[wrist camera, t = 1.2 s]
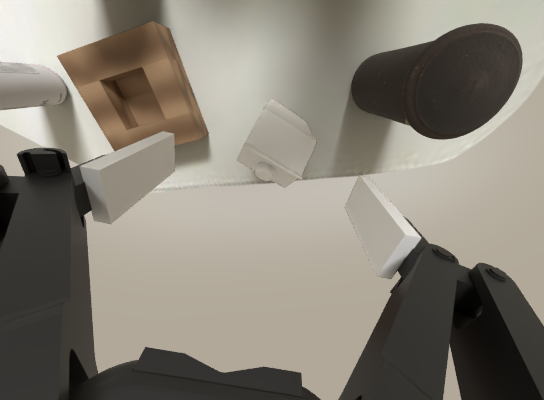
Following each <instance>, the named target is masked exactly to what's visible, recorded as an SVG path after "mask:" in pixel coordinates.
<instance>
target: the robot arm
mask: <svg viewBox="0 0 544 400" xmlns="http://www.w3.org/2000/svg"><path fill="white" fill-rule="evenodd" d="M17 156H18V159H19V161H20V163H21V166H22V168H23V171H24V173H25V177H20V176H7V174H6V172H5V170H4V168H3V166H2V165H0V400H320V399H319V398H318V397H317V396H316V395H315V394H313V393H311V392H310V391H309V390H308V389H306V388H304V387H302V379H301V373H298V372H293V371H287V370H281V369H275V368H268V367H259V368H254V369H247V370H240V371H234V372H227V373H222V372H219V371H217V370H215V369H213V368H211V367H209V366H207V365H205V364H203V363H202V362H200V361H198V360H196V359H194V358H192V357H190V356H188V355H186V354H184V353H177V352H172V351H166V350H160V349H154V348H148V347H145V349H144V351H143V353H142V354H141V356H140V358H139V360H135V361H130V362H126V363H123V364H119V365H117V366H114V367H112V368H109V369H107V370H105V371H103V372H101V373H99V374H98V371H97V366H96V361H95V353H94V338H93V323H92V308H91V293H90V277H89V262H88V246H87V231H86V220H85V217H84V215H85V214H86V213H88V212H89V211H92V215H93V219H94V221H98V222H103V223H108V224H112V223H113V222H114V221H115V220H116V219H117V218H119V217H120V216H121V215H122V214H124V213H125V212H126V211H127V210H128V209H130V208H131V207H132V206H133V205H135V204H136V203H137V202H138V201H139V200H141V199H142V198H143V197H144V196H145V195H147V194H148V193H149V192H150V191H151V190H153V189H154V188H155V187H156V186H157V185H159V184H160V183H161V182H162V181H164V180H165V179H166V178H167V177H168V176H170V175H171V174H172V173H173V172H174V171H175V144H174V134H173V133H169V132H164V131H162V132H160V133H157V134H155V135H153V136H150V137H148V138H146V139H143V140H141V141H138V142H136V143H134V144H131V145H129V146H126V147H124V148H122V149H119V150H117V151H115V152H112V153H110V154H107V155H102V156H100V157H97V158H95V160H94V159H92V160H90V161H88V162H85V163H83V164H80V165H78V166H76V167H73V168H70V165H69V161H68V158H67V154H66V152H65V151H63V150H60V149H55V148H34V149H28V150H24V151H21V152H19V153H18V154H17ZM345 209H346V211H347V213H348V216H349V217H350V220H351V222H352V224H353V226H354V228H355V231H356V233H357V235H358V237H359V239H360V241H361V243H362V246H363V248H364V250H365V252H366V254H367V256H368V258H369V261H370V262H371V265H372V267H373V269H374V271H375V273H376V276H378V277H383V278H388V279H392V277H393V276H394V275H395V273H396V272H397V271H398V272H399V274H400V275H401V278H400V280H399V281H398V282H397V284H396V285H395V286H394V287H393V289H392V290H391V292H390V293H392V294H391V296H390V298H389V300H388V302H387V304H386V306H385V308H384V310H383V312H382V314H381V316H380V318H379V320H378V322H377V324H376V326H375V328H374V330H373V332H372V334H371V336H370V338H369V340H368V342H367V344H366V346H365V348H364V350H363V352H362V354H361V356H360V358H359V360H358V362H357V364H356V366H355V368H354V370H353V372H352V374H351V376H350V378H349V380H348V382H347V385H346V386H345V388H344V390H343V392H342V394H341V396H340V398H339V399H338V400H443V394H444V384H445V377H446V376H445V375H446V368H447V360H448V350H449V343H450V348H451V352H452V357H453V361H454V366H455V371H456V376H457V381H458V385H459V389H460V395H461V399H462V400H544V326H543V324H542V323H541V321H540V320H539V318H538V317H537V315H536V314H535V312H534V311H533V309H532V308H531V306H530V305H529V303H528V302H527V300H526V299H525V297H524V296H523V294H522V293H521V291H520V290H519V288H518V287H517V285H516V283H515V282H514V281H513V280H512V279H511V278H510V277H509V276H507V275H506V273H505V272H503V271H501V270H499V269H498V268H494V267H493V266H491V265H488V264H485V263H478V264H477V265H476V266H475V267H474V268H473V269H469V268H466V267H464V266H461V265H459V262H458V260H457V258H456V257H455V256H454V255H453V254H451V253H450V252H449V251H447V250H445V249H444V248H442V247H440V246H437V245H434V244H429V243H428V242H427V241H426V239H425V238H424V237H423V236H422V235H421V234H420V233H419V232H418V231H417V229H416V228H415V227H413V225H412V223H411V222H410V221H409V220H408V219H406V218H405V217H404V216H402V215H401V213H400V212H399V211H398V210H397V209H396V208H395V206H394V205H393V204H392V203H391V202H390V201H389V200H388V199H387V197H386V196H385V195H384V194H383V193H382V192H381V190H380V189H379V188H378V187H377V186H376V184H375V183H374V182H373V181H372V180H371V179H370V177H365V176H361V175H359V177H358V179H357V181H356V184H355V186H354V188H353V190H352V192H351V194H350V197H349V199H348V201H347V203H346V205H345Z"/></svg>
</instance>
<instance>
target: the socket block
mask: <svg viewBox="0 0 544 400" xmlns="http://www.w3.org/2000/svg"><path fill="white" fill-rule="evenodd" d="M57 57H58V59H59V60H60V62H61V64H62V65H63V67H64V69H65V70H66V72H67V74H68V75H69V77H70V78H71V80H72V82H73V83H74V85H75V87H76V88H77V90H78V92H79V93H80V95H81V97H82V98H83V100H84V102H85V103H86V105H87V107H88V108H89V110H90V111H91V113H92V115H93V116H94V118H95V120H96V121H97V123H98V125H99V126H100V128H101V130H102V131H103V133H104V135H105V136H106V138H107V140H108V141H109V143H110V144H111V146H112V148H113V149H114V151H117V150H119V149H122V148H124V147H126V146H129V145H131V144H134V143H136V142H138V141H141V140H143V139H146V138H148V137H150V136H153V135H155V134H157V133H160V132H162V131H164V132H169V133H173V134H174V144H175V145H179V144H183V143H187V142H191V141H195V140H199V139H201V138H203V137H204V136H206V135H207V134H209V133H208V131H207V128H206V125H205V123H204V120H203V117H202V115H201V112H200V109H199V107H198V104H197V101H196V99H195V96H194V93H193V91H192V88H191V85H190V83H189V80H188V77H187V75H186V72H185V69H184V67H183V64H182V61H181V59H180V56H179V53H178V51H177V48H176V45H175V43H174V40H173V37H172V35H171V32H170V29H169V28H167V27H165V26H163V25H160V24H158V23H156V22H154V21H152V22H150V23H147V24H144V25H141V26H138V27H136V28H133V29H130V30H127V31H125V32H122V33H119V34H116V35H113V36H111V37H108V38H105V39H102V40H100V41H97V42H94V43H91V44H88V45H86V46H83V47H80V48H77V49H75V50H72V51H69V52H66V53H63V54H61V55H58V56H57Z"/></svg>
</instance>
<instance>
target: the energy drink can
mask: <svg viewBox="0 0 544 400" xmlns="http://www.w3.org/2000/svg"><path fill="white" fill-rule="evenodd" d="M66 96H67V88H66V85H65V83H64V81H63V80H62V78H61V77H60V76H59V75H58V74H57V73H55V72H54V71H52V70H51V69H49V68H47V67H45V66H43V65H37V64H23V63H8V62H0V110H7V109H17V108H27V107H37V106H47V105H57V104H61V103H62V102H63V101H64V100H65V98H66Z"/></svg>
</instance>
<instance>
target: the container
mask: <svg viewBox="0 0 544 400" xmlns="http://www.w3.org/2000/svg"><path fill="white" fill-rule="evenodd" d="M521 69H522V50H521V47H520V44H519V42H518V40H517V39H516V37H515V36H514V35H513V34H512V33H511V32H510V31H508V30H507V29H505V28H503V27H501V26H498V25H493V24H484V23H480V24H471V25H466V26H463V27H459V28H456V29H454V30H452V31H450V32H448V33H446V34H444V35H442V36H441V37H439V38H437V39H436V40H435V41H431V42H427V43H423V44H419V45H415V46H411V47H406V48H402V49H398V50H393V51H388V52H383V53H379V54H376V55H373V56H371V57H369V58H368V59H366V60H365V61H364V62H363V63H362V64H361V65H360V66H359V68H358V69H357V71H356V73H355V75H354V77H353V81H352V96H353V99H354V101H355V103H356V104H357V105H358V107H360V108H361V109H362V110H364V111H366V112H369V113H372V114H375V115H378V116H382V117H385V118H388V119H391V120H394V121H397V122H400V123H403V124H406V125H409V126H411V127H412V128H413V129H414V130H415V131H417V132H418V133H420V134H421V135H423V136H425V137H428V138H432V139H452V138H457V137H460V136H463V135H466V134H468V133H470V132H472V131H474V130H476V129H478V128H479V127H481V126H482V125H484V124H485V123H486V122H488V121H489V120H490V119H491V118H492V117H494V116H495V115H496V114H497V113H498V112H499V111H500V109H501V108H502V107H503V106H504V105H505V103H506V102H507V101H508V99H509V98H510V96H511V95H512V93H513V91H514V89H515V87H516V85H517V83H518V80H519V77H520V74H521Z"/></svg>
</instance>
